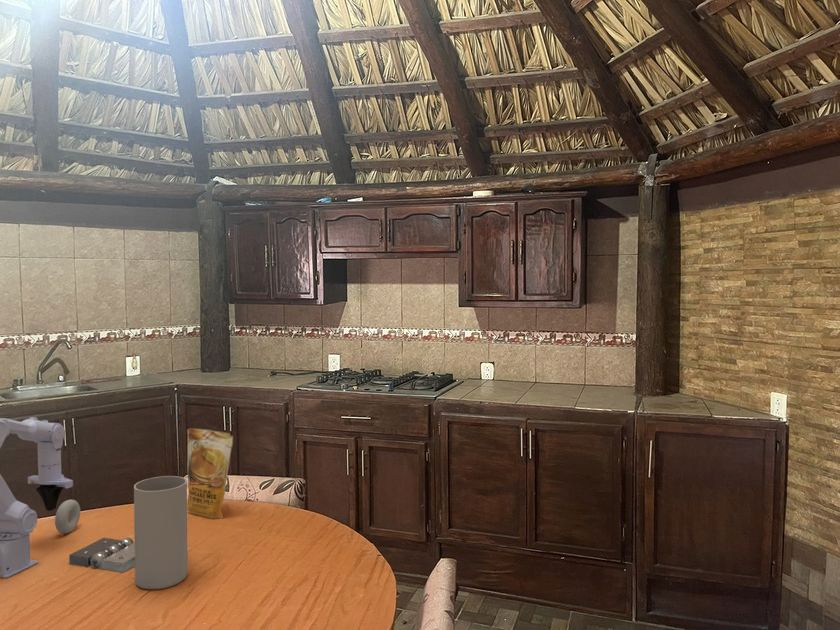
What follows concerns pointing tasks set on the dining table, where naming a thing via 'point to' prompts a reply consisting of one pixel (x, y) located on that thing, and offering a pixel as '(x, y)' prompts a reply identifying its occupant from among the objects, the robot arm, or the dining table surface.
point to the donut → (67, 516)
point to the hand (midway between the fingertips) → (51, 509)
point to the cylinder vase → (160, 532)
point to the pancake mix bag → (207, 470)
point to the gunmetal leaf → (93, 551)
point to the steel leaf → (116, 557)
